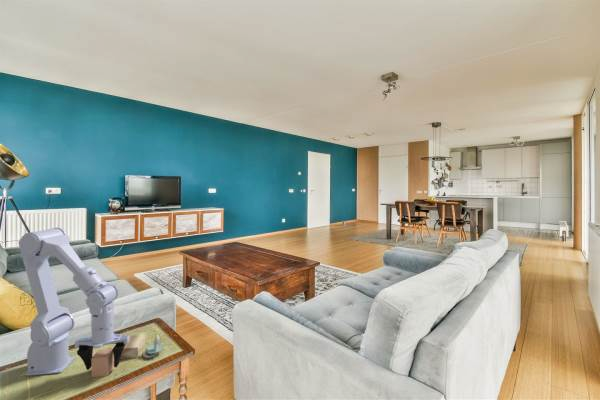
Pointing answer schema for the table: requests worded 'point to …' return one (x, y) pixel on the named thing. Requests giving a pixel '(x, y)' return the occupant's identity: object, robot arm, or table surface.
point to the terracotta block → (102, 362)
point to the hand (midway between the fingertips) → (103, 366)
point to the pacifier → (153, 348)
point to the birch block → (133, 346)
